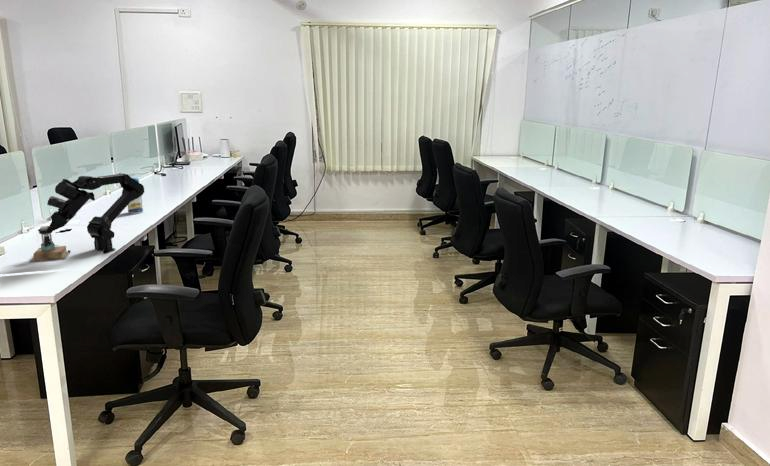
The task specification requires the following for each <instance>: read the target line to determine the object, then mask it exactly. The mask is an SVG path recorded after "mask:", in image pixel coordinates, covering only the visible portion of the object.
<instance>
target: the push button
mask: <svg viewBox="0 0 770 466" xmlns="http://www.w3.org/2000/svg"><path fill="white" fill-rule="evenodd" d="M49 226H50V225H44V226H43V225H42V226H40V227H39V229H37V231H38V234H40V235H41V236H40V237H41V244H40V248H41V249H42V251H48V250H54V249H55V248H58V247H56V246H58V244H55V243H54V241H53V238H52V237H53V236H52V233H53V231H52V232H50V233H48V232H46V231H47V229H48V227H49Z"/></svg>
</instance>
